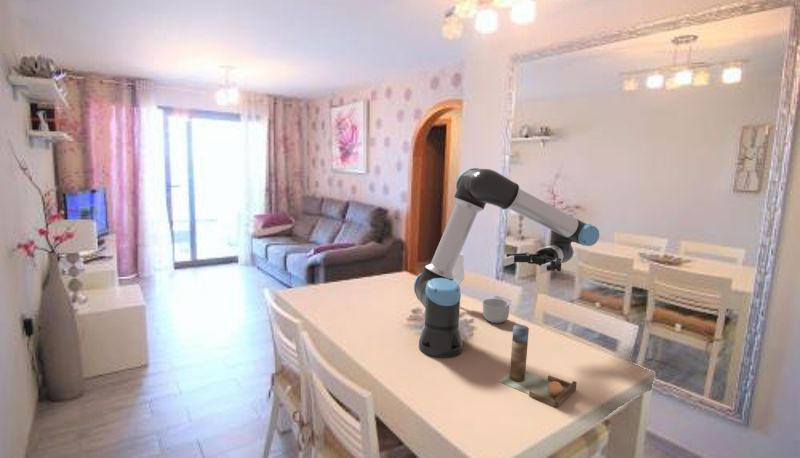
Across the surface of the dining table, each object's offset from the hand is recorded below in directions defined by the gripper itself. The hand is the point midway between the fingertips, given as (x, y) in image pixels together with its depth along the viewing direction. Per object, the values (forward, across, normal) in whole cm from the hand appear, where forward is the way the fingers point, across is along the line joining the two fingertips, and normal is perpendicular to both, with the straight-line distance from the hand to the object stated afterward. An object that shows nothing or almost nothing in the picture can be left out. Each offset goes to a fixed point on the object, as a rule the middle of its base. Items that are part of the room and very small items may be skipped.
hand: (521, 265), depth 140 cm
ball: (+19, -22, -28) cm, 41 cm away
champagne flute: (-22, +42, -30) cm, 56 cm away
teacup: (-20, +20, -30) cm, 42 cm away
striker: (+18, -10, -30) cm, 36 cm away
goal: (+18, -16, -30) cm, 39 cm away
